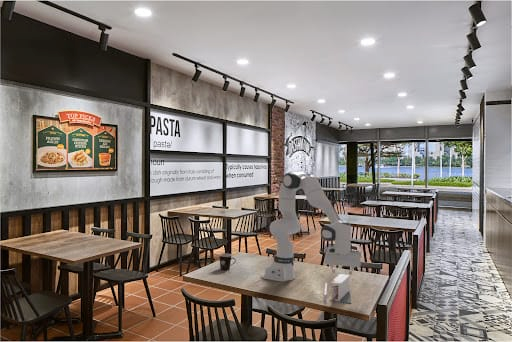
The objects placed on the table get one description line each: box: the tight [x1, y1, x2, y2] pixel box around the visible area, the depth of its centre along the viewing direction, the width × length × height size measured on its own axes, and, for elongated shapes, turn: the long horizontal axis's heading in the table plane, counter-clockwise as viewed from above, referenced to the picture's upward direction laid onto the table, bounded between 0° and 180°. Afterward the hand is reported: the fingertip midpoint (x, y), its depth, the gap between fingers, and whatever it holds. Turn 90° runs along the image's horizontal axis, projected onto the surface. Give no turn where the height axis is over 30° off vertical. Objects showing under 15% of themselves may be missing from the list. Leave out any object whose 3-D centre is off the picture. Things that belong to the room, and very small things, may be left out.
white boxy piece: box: [329, 273, 351, 301], centre depth 201 cm, size 20×6×9 cm, turn 150°
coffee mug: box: [218, 253, 237, 271], centre depth 247 cm, size 12×9×10 cm
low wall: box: [323, 282, 328, 302], centre depth 203 cm, size 1×20×4 cm, turn 167°
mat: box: [332, 289, 352, 304], centre depth 201 cm, size 10×20×1 cm, turn 167°
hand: (341, 273), depth 201 cm, fingers open, 8 cm apart
